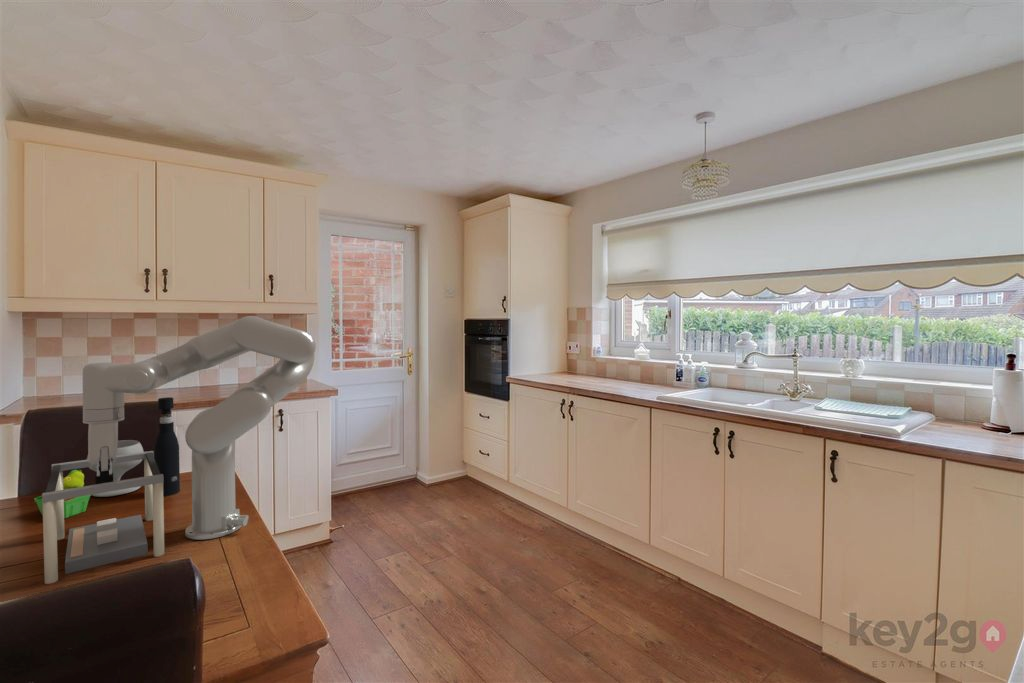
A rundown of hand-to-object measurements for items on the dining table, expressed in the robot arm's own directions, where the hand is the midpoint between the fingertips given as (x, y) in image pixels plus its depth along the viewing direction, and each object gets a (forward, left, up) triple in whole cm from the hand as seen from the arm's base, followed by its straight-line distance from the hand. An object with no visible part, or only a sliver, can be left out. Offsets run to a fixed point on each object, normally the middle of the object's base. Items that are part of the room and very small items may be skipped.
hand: (104, 491), depth 114 cm
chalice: (+31, -35, -14) cm, 49 cm away
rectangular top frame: (0, 0, +4) cm, 4 cm away
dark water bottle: (+14, -35, -14) cm, 40 cm away
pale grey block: (-3, +3, -11) cm, 12 cm away
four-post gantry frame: (0, 0, -13) cm, 13 cm away
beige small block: (+3, -3, -11) cm, 12 cm away
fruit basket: (+30, -18, -14) cm, 37 cm away
